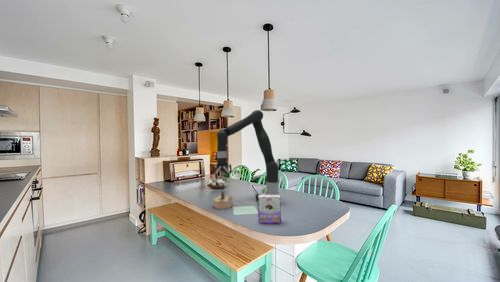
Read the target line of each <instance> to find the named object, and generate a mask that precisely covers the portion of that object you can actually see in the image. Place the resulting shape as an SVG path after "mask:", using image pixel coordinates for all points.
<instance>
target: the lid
mask: <svg viewBox="0 0 500 282" xmlns="http://www.w3.org/2000/svg"><path fill="white" fill-rule="evenodd" d="M229 201H231V202H233V196H230V195H225V191H221V193H220V195H217V196H214V197H213V198H212V202H219V203H223V202H229Z"/></svg>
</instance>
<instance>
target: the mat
mask: <svg viewBox="0 0 500 282" xmlns="http://www.w3.org/2000/svg"><path fill="white" fill-rule="evenodd" d="M232 210H233V211H232V212H233V216H236V215H237V216H238V215H239V216H241V215H255V214H257V215H258V208H257V206H256V205H244V206H240V205H239V206H233V207H232Z"/></svg>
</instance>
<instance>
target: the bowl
mask: <svg viewBox="0 0 500 282" xmlns="http://www.w3.org/2000/svg"><path fill="white" fill-rule="evenodd" d="M213 202H214V201H213ZM213 205H214V208H215V209H216V210H226V209H230V208H232V201H229V202H223V203H219V202H214V203H213Z"/></svg>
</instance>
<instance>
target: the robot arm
mask: <svg viewBox="0 0 500 282" xmlns="http://www.w3.org/2000/svg"><path fill="white" fill-rule="evenodd" d="M263 118H264V113H263V111H261V110H260V109H256V110H253V111H252V112H251V113H250V114H249V115H248V116H245V117H244V118H243V119H240V120H238V121H236V122H234V123H233V124H230V125H229V126H227V127H226V128H222V130H219V131H218V132H217V133H216V138H217V145H216V146H217V147H216V148H217V149H216V164H213V165H212V173H213V174H214V175H215V177H214V178H215V179H218V172H220V171H226V172H227V179H229V178H230V174H231V173H232V172H233V170H232V164H228V153H227V152H228V151H227V141H228V140H227V139H228V137H230V136H232V135H234V134H236V133H238V132H240V131H241V130H243V129H245V128H246V127H248V126H250V125H252V126H253V129H254V133H255V136H256V139H257V144H258V146H259V148H260V151H261V154H262V156H263V159H264V162H265V163H264V164H265V168H266V169H265V170H266V180H265V181H266V183H265V185H266V188H265V189H266V195H280V192H279V166H278V163H277V162H276V160H275V157H274V154H273V149H272V144H271V140H270V137H269V135H268V133H267V132H266V129H265V128H264V126H263V121H262V120H263ZM216 168H217V169H216ZM227 168H229V170H228V169H227ZM215 170H216V171H215Z"/></svg>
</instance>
